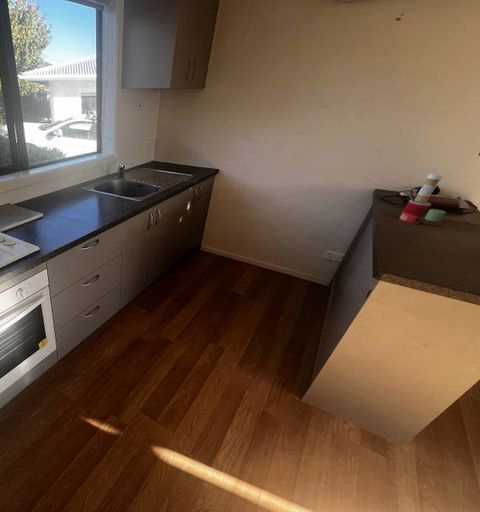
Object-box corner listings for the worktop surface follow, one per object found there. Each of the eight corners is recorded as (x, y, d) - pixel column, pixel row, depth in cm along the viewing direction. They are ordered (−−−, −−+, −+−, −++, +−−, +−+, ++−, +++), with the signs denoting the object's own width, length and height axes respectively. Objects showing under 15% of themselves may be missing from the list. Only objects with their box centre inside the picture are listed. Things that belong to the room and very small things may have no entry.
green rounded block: (430, 217, 157) (435, 208, 155) (443, 221, 152) (449, 212, 150) (421, 218, 156) (426, 209, 154) (434, 222, 151) (440, 213, 149)
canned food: (417, 226, 147) (430, 205, 141) (396, 221, 152) (408, 201, 147) (419, 222, 151) (432, 202, 146) (399, 217, 156) (410, 198, 151)
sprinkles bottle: (417, 199, 149) (433, 173, 142) (428, 202, 145) (445, 175, 138) (411, 200, 148) (427, 173, 141) (422, 203, 144) (438, 176, 137)
